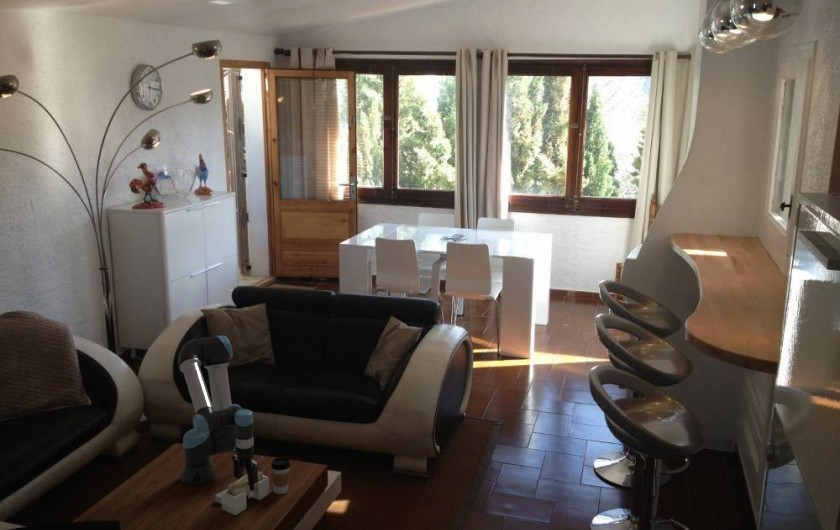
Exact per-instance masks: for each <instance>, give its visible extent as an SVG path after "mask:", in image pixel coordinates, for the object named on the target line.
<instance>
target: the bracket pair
mask: <svg viewBox="0 0 840 530" xmlns="http://www.w3.org/2000/svg"><path fill="white" fill-rule="evenodd" d="M262 475H263V480H261V481H260V482H258V483H257V485H258V486H256V487H255V488H254V490H253V496H252V497H251V498H253V499H256V500H258V501H259V500H262V499H264V498H265V497H267V496H269V495H270V493H271V492H270V491H271V490H270V488H271V487H270V484H271V483H270V476H266V475H264V474H262ZM247 496H248V492H247V493H246V491H243V492H242V493H240V494H238V495H237V496H233V495H230V494H229V487H228V488H227V489H225V490H224V491H221V497H222V504H221V510H223V511H225V512H227V513H229V514H232V515H234V516H237V515H239V514H240V513H242V512H243V511H244V510H245V511H246V509H247V508H248V507H247Z"/></svg>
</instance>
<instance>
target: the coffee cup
mask: <svg viewBox="0 0 840 530" xmlns="http://www.w3.org/2000/svg"><path fill="white" fill-rule="evenodd" d="M270 467H271V472H272V474H271V475H272V482H273V490H274V493H275V494H277V495H284V494H287V493H288V492H289V481H290V467H291V461H290V458H289V457H285V456H283V457H282V456H281V457H276V458H275V457H274V458H273V459H272V461H271V465H270Z"/></svg>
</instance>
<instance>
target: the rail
mask: <svg viewBox="0 0 840 530" xmlns="http://www.w3.org/2000/svg"><path fill="white" fill-rule="evenodd" d="M263 475H264V474H263V471H260V470H258V482H260V481H261V480H263ZM258 482H257V483H258ZM248 483H249V481H248V476H247V473H246V474H245V475H243V477H241V478H239V479H238V480H237V479H236V480H235V481H233V482H231V483H229V484H228V488H229V494H230V495H233V496H237V495H238V494H240V493H242V492H243V491H246V493H247V492H248V486H247V484H248ZM257 483H255V484H254V488H255V487H256V486H258V485H257Z"/></svg>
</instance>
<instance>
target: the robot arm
mask: <svg viewBox="0 0 840 530" xmlns="http://www.w3.org/2000/svg"><path fill="white" fill-rule="evenodd" d="M233 353H234V352H233V348H232V344H231V342H230V339H229V338H228V337H227V336H225V335H215V336H209V337H208V336H207V337H200V338H199V337H198V338H193V339H190V340H188V341H187V342H186V343H185V344H184V345H183V346H182V347H181V349H180V351H179V354H178V363H177V364H178V368H179V371H181V372H182V373H183V375H184V379H185V383H186V385H187V389H188V392H189V396H190V398H191V402H192V405H193V408H194V412H195V414H194V415H193V417H192V424H193V428H192V429H190V430H188V431H187V432H186V433H184V435H183V437H182V439H183V440H182V447H183V448H182V449H183V462H184V463H183V468H182V471H181V474H180V482H181V484H183V485H184V486H186V487H193V488H194V487H196V488H197V487H198V488H199V487H203V486H205V485H209V484H210V483H212V482H213V481H214V480H215V479H216V471H215V469H214V466H213V464H212V461H211V457H213V456H218V455H221V454H225V453H232V452H234V451H235V454H234V455H232V456H231V459H232V465H233V466H232V467H233V477H234V478H236V480H238V479H239V478H241V477H243V476H244V473H245V472H246V474H247V476H248V481H249V483H248V484H247V486H248V495H247V498H248V499H251V498H253V497H252V496H253V490H254V484H255V483H257V482H258V471H259V464H260V463H259V461H255V460H254V457H253V455H254V454H255V449H254V448H255V445H254V444H255V442H254V441H255V440H254V416H253V414H254V413H253V411H252V410H251V409H246V408H243V407H242V406H241V405H239V404H236V403H233V404H232V398H231V388H230V383H229V382H230V381H229V372H228V366H229V365H230V360H231V359H233V356H234V355H233ZM202 364H203V367H204V368H205V369H206V370H207V373H208V379H209V387H210V394H209V391H208V387H207V384H206V382H205V378H204V375H203V372H202V369H201V366H202ZM210 395H211V397H210Z"/></svg>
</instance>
